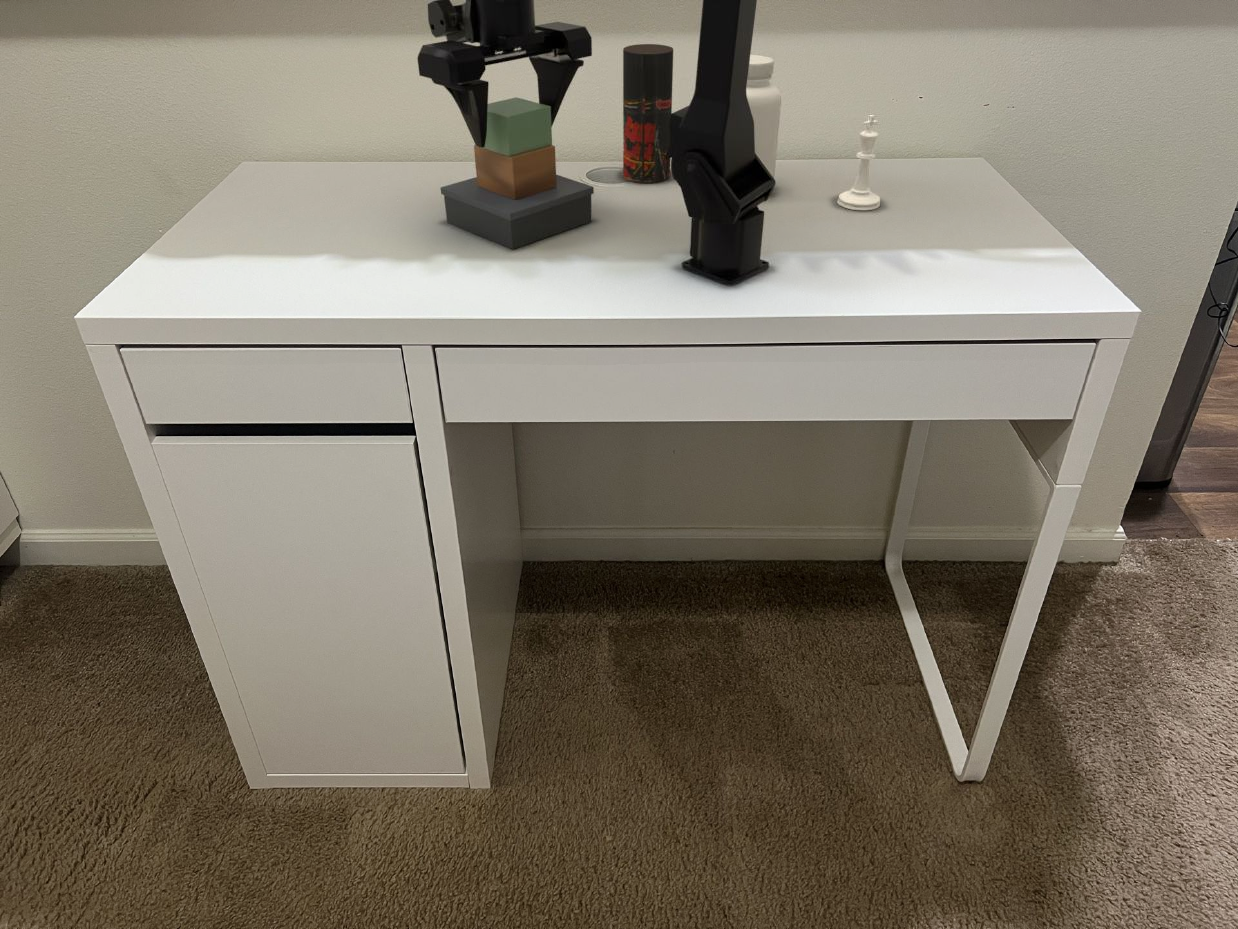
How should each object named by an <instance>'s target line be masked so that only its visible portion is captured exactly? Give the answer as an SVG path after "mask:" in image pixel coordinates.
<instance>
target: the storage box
mask: <svg viewBox="0 0 1238 929" xmlns="http://www.w3.org/2000/svg"><path fill="white" fill-rule="evenodd" d="M556 183H557V187H555V188H552V189H549V190H546V191H542V192H539V193H536V194H533V195H530V196H527V197H523V198H520V199H517V200H514V199H511V198H508V197H505V196H503V195H500V194H497V193H494V192H492V191H489V190H486V189H484V188H481V187H478V186H477V176H476V177H472V178H468V179H465V180H461V181H458V182H454V183H451V184H448V185H444V186H440V195H443V199H444V208H445V216H446V223H448V224H451V225H453V226H455V227H458V228H460V229H463V230H464V231H467V232H470V233H472V234H475V235H477V236H480V237H482V238H484V239H487V240H489V241H491V242H494V243H497V244H499V245H500V246H504V247H506V248H508V249H510V250H515V249H518V248H521V247H523V246H526V245H529V244H533V243H534V242H538V241H540V240H544V239H547V238H549V237H552V236H555V235H557V234H560V233H563V232H566V231H570V230H571V229H574V228H577V227H580V226H583V225H586V224H589V223H592V221H593V219H592V218H593V217H592V195H594V193H595V191H594V190H595V189H594V188H595V187H594V186H592V185H589V184H586V183H584V182H580V181H577V180H574V179H571V178H568V177H565V176H562V175H559V174H556Z"/></svg>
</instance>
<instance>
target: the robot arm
mask: <svg viewBox="0 0 1238 929" xmlns="http://www.w3.org/2000/svg"><path fill="white" fill-rule="evenodd" d="M757 2H758V0H702V7H701V16H700V18H701V19H700V28H699V40H698V52H697V63H696V72H695V74H696V75H695V83H694V84H695V86H694V92H693V95H692V98H691V101H690V103H689V105H687V106H685V107H683V108H680V109H678V110H676V111H674V112H672V114H671V115H670V121H669V131H670V144H669V149H668V151H667V153H666V155H665V158H666V159H669V158H670V173H671V176H672V180H674V181H675V182H676V183H677V185H678V186H679V188H680V190H681V194H682V197H683V201H684V205H685V209H686V212H687V215H688V217H689V218H691V220H690V239H689V240H690V242H689V256H690V257H691V258H688V259H687V260H684V261H682V263H681V268H682V269H684V270H686V271H690V272H693V273H695V274H698V275H701V276H703V277H705V278H709V279H712V280H714V281H716V282H720V283H721V284H723V285H729V286H731V285H735V284H736V283H739V282H741V281H743V280H745V279H748V278H749V277H752V276H754V275H756V274H758V273H760V272H762V271H764V270H766V269H767V270H768V269H769V268H770V262H769V261H767V260H765V259H762V258H761V254H762V242H763V234H764V233H763V232H764V231H763V230H764V221H765V211H764V210H762V209H759V205H761V204H762V203H763V202H767V201H768V200H769V199H770V197H771V195H772V193H773V190H774V188H775V186H776V184H777V183H776V182H777V181H776V179H775V177H774V178H773V177H772V175H771V174H770V172H769V171H768V170H767V168H766V167H765V166H764V164H763V163H762V162H761V160H760V159H759V157H758V156H757V155H756V153H755V138H754V120H753V116H752V113H751V110H750V106H749V103H748V99H747V95H746V86H747V78H748V70H749V61H750V55H751V53H752V52H751V51H752V43H753V36H754V28H755V20H756V11H757ZM535 13H536V12H535V0H465V2H464V3H462V4H457V5H454V4H453V3H452V2H451V0H433V1H431V2H429V3H427V20H428V25H429V30H430V33H431V34H432V36H433V37H434V38H443V37H445V38H446V40H445V41H439V42H432V43H427V44H422V46H421V48H420V50H419V52H418V54H417V57H416V58H417V67H418V74H419V76H420V77H424V78H427V79H431V81H432V83H433V84H435V85H438V86H442V87H443V88H445V90H446V91H447V92H448V93H449V94H450V95H451V97H452V98H453V100H454V103H455V104H456V106H457V107H458V109H459V111H460V113H461V116H462V117H463V120H464V123H465V124H466V127H467V129H468V131H469V134H470V136H471V138H472V140H473V143H474V145H476V146H477V147H480V148H483V147H485V142H486V135H487V111H488V104H489V85H490V84H489V81H487V80H483V79H481V78H482V77H483V75H484V74H485V71H486V67H487V66H492V65H496V64H501V63H506V62H511V61H515V60H521V59H526V58H528V59H529V62H530V63H531V64H530V65H531V66H532V68H533V70H534V72H535V74H536V78H537V94H538V103H540V104H544V105H547V106H550V107H551V128H553V125H554V122H555V121H556V118H557V115H558V113H559V110H560V108H561V106H562V104H563V101H564V98H565V96H566V93H567V92H568V89H569V88H570V86H571V84H572V82H573V79H574V78H575V75H576V74H577V71H578V70H579V68H581V67H583V66H584V64H585V62H584V61H585V60H583V59H584V58H588V57H592V56H593V43H592V42H593V40H592V35H591V34H590V32H589V31H588V29H587V27H586V26H584V25H579V24H573V23H566V22H562V21H554V22H548V23H542V24H536V19H535V18H536V14H535ZM476 43H478V44H479V45H474V44H476Z"/></svg>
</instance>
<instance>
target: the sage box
mask: <svg viewBox="0 0 1238 929" xmlns="http://www.w3.org/2000/svg"><path fill="white" fill-rule="evenodd" d="M552 128H553V127H552ZM552 128H551V107H550V106H547V105H544V104H540V103H539V102H536V101H532V100H528V99H525V98H521V97H512V98H507V99H503V100H498V101H494V102H490V103H489V102H488V111H487V135H486V142H485V147H483V148H485V149H488V150H491V151H494V152H497V153H500V154H503V155H506V156H509V157H510V156H513V155H517V154H521V153H524V152H528V151H531V150H535V149H539V148H542V147H546V146H549V145H553V132H552V131H553V130H552Z"/></svg>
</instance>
